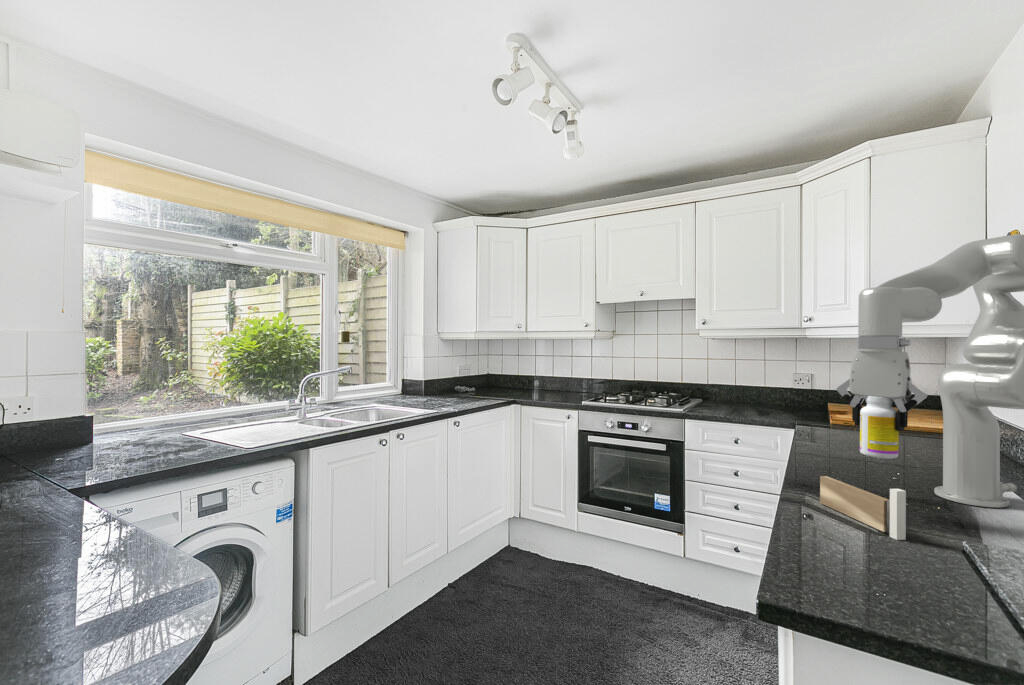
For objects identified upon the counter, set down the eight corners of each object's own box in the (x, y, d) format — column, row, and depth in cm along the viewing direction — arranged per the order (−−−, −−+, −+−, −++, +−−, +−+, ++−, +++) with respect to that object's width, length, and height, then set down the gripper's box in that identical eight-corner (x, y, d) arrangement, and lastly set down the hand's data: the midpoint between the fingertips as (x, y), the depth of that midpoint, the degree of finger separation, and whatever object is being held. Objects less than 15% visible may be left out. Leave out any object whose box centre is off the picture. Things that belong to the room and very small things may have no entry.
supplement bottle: (906, 459, 99) (907, 398, 99) (874, 459, 99) (875, 397, 99) (882, 452, 105) (883, 394, 105) (852, 451, 105) (852, 394, 105)
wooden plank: (826, 503, 107) (826, 475, 107) (896, 534, 89) (896, 501, 89) (820, 503, 107) (820, 475, 107) (888, 534, 89) (888, 502, 89)
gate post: (898, 536, 89) (898, 488, 89) (905, 539, 88) (905, 491, 88) (889, 536, 89) (889, 488, 89) (896, 539, 87) (896, 491, 87)
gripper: (937, 345, 97) (936, 432, 97) (841, 344, 111) (840, 420, 111) (926, 345, 93) (925, 436, 93) (827, 344, 107) (826, 423, 107)
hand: (878, 427), depth 102 cm, fingers closed on supplement bottle, 6 cm apart
